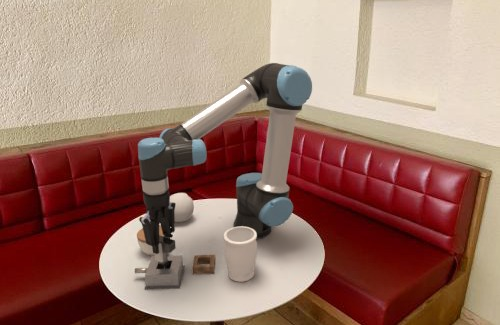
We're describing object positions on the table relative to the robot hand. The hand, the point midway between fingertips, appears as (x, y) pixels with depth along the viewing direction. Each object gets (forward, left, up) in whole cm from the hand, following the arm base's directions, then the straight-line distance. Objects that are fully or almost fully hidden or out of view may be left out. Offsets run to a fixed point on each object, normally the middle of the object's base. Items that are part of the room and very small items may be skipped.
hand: (163, 257), depth 120 cm
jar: (-25, -1, -8) cm, 26 cm away
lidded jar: (+7, -16, -8) cm, 19 cm away
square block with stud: (+2, 0, -8) cm, 8 cm away
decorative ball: (+1, -38, -8) cm, 39 cm away
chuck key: (0, 0, -5) cm, 5 cm away
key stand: (-12, -5, -8) cm, 15 cm away
